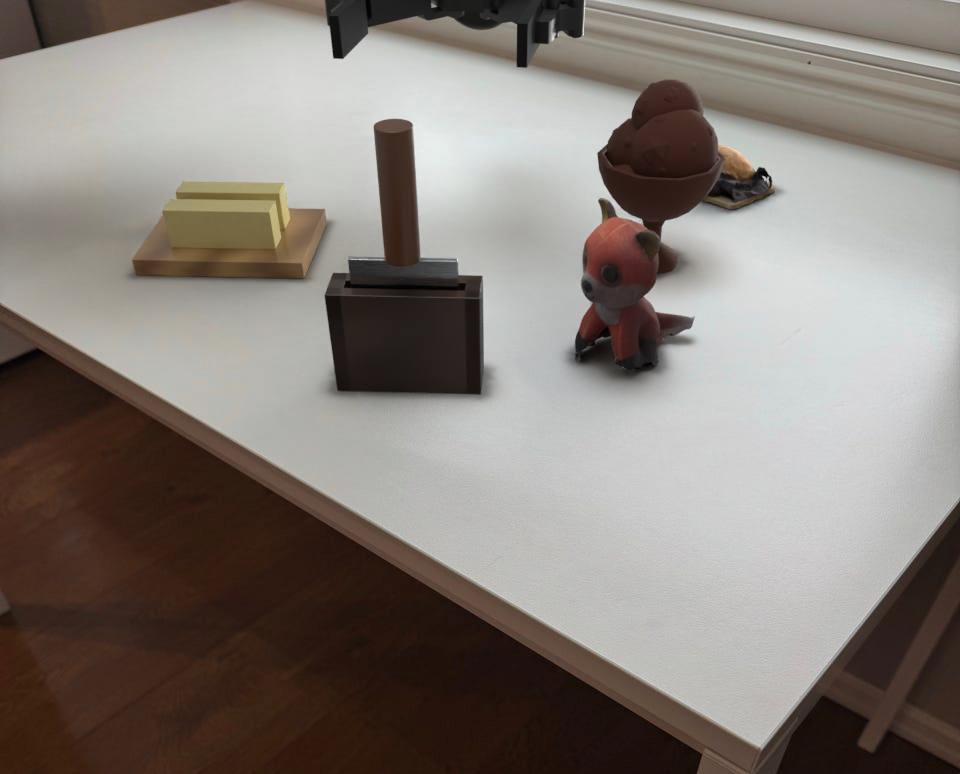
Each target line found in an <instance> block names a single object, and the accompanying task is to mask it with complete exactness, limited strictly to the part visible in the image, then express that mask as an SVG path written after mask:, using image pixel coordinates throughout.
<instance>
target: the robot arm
mask: <svg viewBox="0 0 960 774" xmlns="http://www.w3.org/2000/svg"><path fill="white" fill-rule="evenodd" d="M432 4H433V5H435V6H434V7H432ZM324 7H325V15H326V23H327V26H328V27H329V31H330V32H329V34H330V41H331V42H330V43H331V51H332V59H333V60H335V59H336V60H344V59H345V58H346V57H347V56H348V55H349V53H351V52H352V50H354V49H355V48H356V46H358V45H359V44H360V42H361V41H363V39H364V38H365V37H366V36H368V34H369V28H371V27H376V26H380V25H385V24H389V23H394V22H397V21H401V20H407V19H411V18H415V17H418V18H420V19H422V20H425V21H428V22H429V21H434V20H439V19H441V18H447V17H448V18H452V19H453V20H455V21H456V22H457V23H458V24H460V25H461V26H463V27H465V28H468V29H471V30H476V31H489V30H492V29H495V28H498V27H500V26H502V25H503V24H508V23H513V24H516V68H521V69H522V68H523V69H527V68H528V67H529V65H530V63H531V61H532V60H533V58H534V57H535V54H536V52H537V51H538V48H539V47H540V45H550V44H552V43H553V42H554V40H555V39H557V38H559V37H560V35H559V34H560V32H563V33H564V34H565V35H566V36H567V37H570V38H572V39H579V38H582V37H583V36H584V33H585V31H584V30H585V12H586V0H324Z"/></svg>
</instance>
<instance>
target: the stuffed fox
mask: <svg viewBox="0 0 960 774" xmlns="http://www.w3.org/2000/svg"><path fill="white" fill-rule="evenodd" d="M597 202H598V204H599V206H600V210H601V223H600V224H599V225H597V226H596V227H595V228H594V230H593V231H592V232H591V233H590V235H589V236H588V237H587V238H586V240H585V242H584V245H583V250H582V271H583V272H582V276H581V280H580V286H581V289H582V290H581V291H582V293H583V295H584V297H585V298H586V300H588V301H589V302H590V303H591V305H590V306H589V308H588V309H587V310H586V312H585V313H584V315H583V316H582V318H581V321H580V324H579V328H578V330H577V332H576V335H575V338H574V348H575V349H574V357H575V360H576V361H578V362H579V361H581V353H582V351H585V350H586V349H587V348H588V347H589V348H591V347H595V346H597V344H596V341H597V340H599V339H601V338H602V339H607V338H611V344H610V345H611V349H612V350H613V353H614V356H615V359H614V364H615V365H616V366H618V368H623V370H625V371H627V372H634V371H638V370H641V369H645V368H649V367H654V366H656V365H657V364H658V363H659V362H660V360H659V355H658V353H659V346H660V344H661V343H662V342H663V340H665V339H667V338H668V337H675V336H676V335H679V334H680V333H682V332H684V331H686V330H691V329H692V327H693V324H694V321H695V319H696V316H692V317H691V316H686V315H682V314H675V313H674V314H673V313H665V312H660V311H656V310H655V307H654V306H653V304H652V303H651V302H650V301H649V300H648V299H647V298H645V296H646V295H647V294H648V293H649V292H651V290H652V289H653V288H654V286H655V284H656V283H657V278H658V277H657V275H658V274H657V270H658V265H659V257H658V251H659V249H660V241H661V242H662V238H661V239H660V237H659V236H658V235H657V234H656V233H655V232H653V231H651V230H648V229H647V228H646V227H645V226H643V223H640V222H638V221H636V220H635V221H634V220H633V219H629V218H623V217H619V216H618V215H617V211H616V209H615V207H614V205H613V203H612V202H611V201H609V200H608V199H606V198H605V197H604V198H603V197H600V198H598V200H597Z"/></svg>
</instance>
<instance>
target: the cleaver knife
mask: <svg viewBox="0 0 960 774" xmlns="http://www.w3.org/2000/svg"><path fill="white" fill-rule="evenodd" d="M414 134H415V133H414V124H413V123H412V122H411V121H410V120H408V119H403V118H386V119H381V120H379V121H377V122H376V123H374V124H373V137H374V149H375V161H376V170H377V171H376V172H377V183H378V185H377V186H378V196H379V208H380V219H381V231H382V232H381V233H382V243H383V253H384V254H383V255H384V256H348V258H347V265H348V273H349V274H350V283H351V288H365V289H413V290H459V279H458V275H459V258H450V257H447V258H446V257H443V258H442V257H422V256H421V242H420V241H421V240H420V239H421V237H420V221H419V220H420V219H419V206H418V187H417V186H418V185H417V175H416V174H417V171H416V153H415V136H414Z"/></svg>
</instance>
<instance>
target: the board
mask: <svg viewBox="0 0 960 774" xmlns="http://www.w3.org/2000/svg"><path fill="white" fill-rule="evenodd" d="M288 208H289V215H290V220H289V222H288V224H287V226H286V229H285V230H280V232H281V239H280V241H279V244H278V246H277V248H276V249H275V250H272V249H218V248H172V247H171V244H170V240H169V236H168V232H167V228H166V224H165V220H164V216H163V215H162V216H161V217H160V219H159V220H158V221H157V223H156V224H155V226H154V227H153V229H152V230H151V231H150V233H149V234H148V236H147V237H146V238H145V240H144V241H143V243H142V244H141V246H140V247H139V249H138V250H137V251H136V252H135V254H134V256H133V257H132V259H131V262H132V266H133V271H134V273H135V275H136V276H158V277H159V276H160V277H161V276H163V277H164V276H166V277H207V278H208V277H212V278H213V277H214V278H215V277H216V278H217V277H218V278H257V279H258V278H260V279H261V278H263V279H265V278H267V279H305V277H306V275H307V273H308V271H309V268H310V265H311V263H312V260H313V258H314V256H315V253H316V251H317V248H318V246H319V243H320V241H321V239H322V237H323V234H324V232H325V229H326V227H327V224H328V222H327V214H326V209H325V208H290V207H288Z"/></svg>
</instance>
